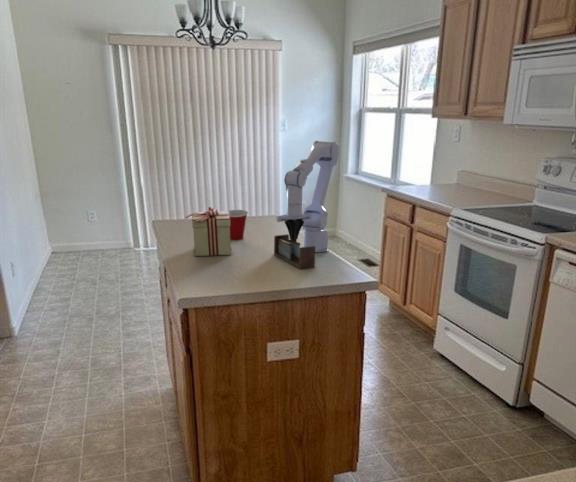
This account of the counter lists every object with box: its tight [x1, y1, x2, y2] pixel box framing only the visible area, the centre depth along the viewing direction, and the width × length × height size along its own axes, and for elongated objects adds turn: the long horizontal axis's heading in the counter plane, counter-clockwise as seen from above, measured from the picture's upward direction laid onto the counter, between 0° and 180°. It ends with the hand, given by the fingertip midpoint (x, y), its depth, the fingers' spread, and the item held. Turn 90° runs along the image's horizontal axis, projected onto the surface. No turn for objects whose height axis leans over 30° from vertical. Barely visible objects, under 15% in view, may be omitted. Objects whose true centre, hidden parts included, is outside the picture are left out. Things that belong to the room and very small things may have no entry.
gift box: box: [184, 206, 232, 257], centre depth 214 cm, size 17×18×17 cm
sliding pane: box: [287, 234, 301, 259], centre depth 208 cm, size 1×9×9 cm, turn 28°
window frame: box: [273, 233, 316, 270], centre depth 206 cm, size 6×22×8 cm, turn 28°
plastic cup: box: [227, 209, 249, 241], centre depth 237 cm, size 11×11×12 cm
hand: (293, 238), depth 207 cm, fingers closed on sliding pane
